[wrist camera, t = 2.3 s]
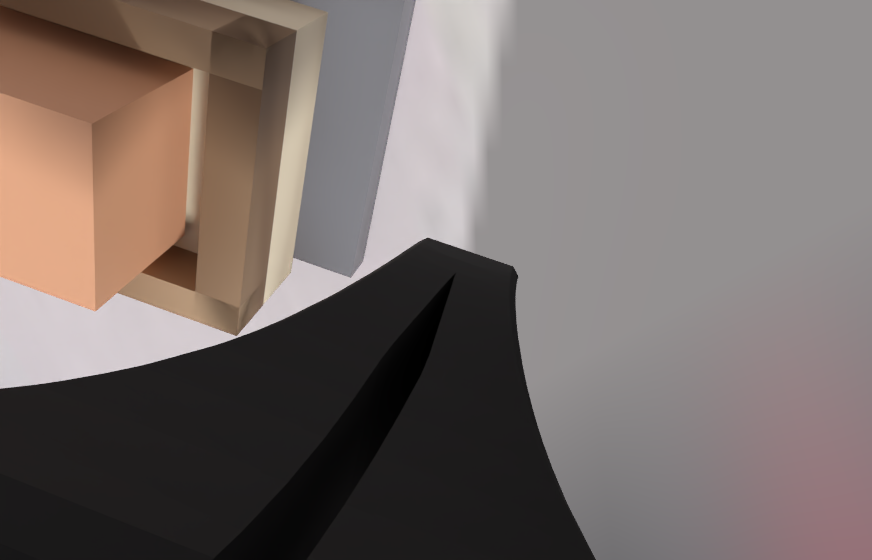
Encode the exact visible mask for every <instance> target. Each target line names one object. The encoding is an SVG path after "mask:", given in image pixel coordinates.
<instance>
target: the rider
mask: <svg viewBox="0 0 872 560" xmlns="http://www.w3.org/2000/svg"><path fill="white" fill-rule="evenodd" d="M193 70H194V69H193V68H190V67H187V66H184V65H181V64H178V63H175V62H171V61H168V60H165V59H162V58H159V57H156V56H153V55H150V54H147V53H144V52H141V51H138V50H135V49H131V48H128V47H125V46H122V45H119V44H116V43H113V42H110V41H107V40H104V39H101V38H98V37H94V36H91V35H88V34H85V33H82V32H79V31H76V30H73V29H70V28H67V27H64V26H61V25H58V24H54V23H51V22H48V21H45V20H42V19H39V18H36V17H33V16H30V15H27V14H24V13H21V12H18V11H14V10H11V9H8V8H5V7H2V6H0V277H3V278H6V279H8V280H11V281H14V282H17V283H19V284H22V285H25V286H27V287H30V288H33V289H36V290H38V291H41V292H44V293H47V294H49V295H52V296H55V297H58V298H60V299H63V300H66V301H69V302H71V303H74V304H77V305H79V306H82V307H85V308H88V309H90V310H93V311H96V310H98V309H99V308H100V307H101V306H102V305H103V304H105V303H106V302H107V301H108V300H109V299H110V298H112V297H113V296H114V295H115V294H116V293H117V292H119V291H120V290H121V289H122V288H123V287H124V286H126V285H127V284H128V283H129V282H130V281H131V280H133V279H134V278H135V277H136V276H137V275H138V274H140V273H141V272H142V271H143V270H144V269H145V268H147V267H148V266H149V265H150V264H151V263H152V262H154V261H155V260H156V259H157V258H158V257H159V256H161V255H162V254H163V253H164V252H165V251H166V250H168V249H169V248H170V247H171V246H172V245H174V244H175V243H176V242H177V241H178V240H179V239H181V238H182V237H183V236H184V235H185V219H186V201H187V182H188V163H189V145H190V126H191V107H192V88H193Z"/></svg>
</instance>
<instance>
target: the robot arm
mask: <svg viewBox="0 0 872 560" xmlns="http://www.w3.org/2000/svg"><path fill="white" fill-rule="evenodd" d="M517 279H518V275H517V273H516V271H515V269H514V267H513V266H510V265H507V264H504V263H501V262H498V261H495V260H492V259H489V258H486V257H483V256H480V255H477V254H474V253H471V252H468V251H466V250H463V249H460V248H457V247H454V246H451V245H448V244H445V243H442V242H439V241H436V240H433V239H430V238H426V239H424V240H422V241H420V242H418V243H416V244H415V245H413V246H412V247H410V248H409V249H407V250H406V251H404V252H403V253H401V254H400V255H398V256H397V257H395V258H394V259H392V260H391V261H389V262H388V263H386V264H385V265H383V266H381V267H380V268H378V269H377V270H375V271H373V272H372V273H370V274H368V275H367V276H365V277H363V278H361V279H360V280H358V281H356V282H355V283H353V284H351V285H349V286H348V287H346V288H344V289H342V290H341V291H339V292H337V293H335V294H334V295H332V296H330V297H328V298H326V299H324V300H322V301H320V302H318V303H316V304H314V305H312V306H310V307H308V308H306V309H304V310H302V311H300V312H298V313H296V314H294V315H291V316H289V317H287V318H285V319H283V320H281V321H278V322H276V323H274V324H271V325H269V326H267V327H265V328H262V329H260V330H257V331H255V332H252V333H249V334H247V335H244V336H241V337H238V338H236V339H233V340H230V341H227V342H224V343H221V344H218V345H215V346H212V347H208V348H204V349H201V350H197V351H194V352H190V353H186V354H183V355H179V356H176V357H172V358H168V359H165V360H161V361H158V362H154V363H151V364H146V365H142V366H138V367H133V368H128V369H123V370H119V371H114V372H109V373H105V374H99V375H93V376H88V377H82V378H76V379H71V380H65V381H59V382H52V383H45V384H39V385H30V386H22V387H13V388H4V389H0V560H596V559H595V557H594V555H593V553H592V551H591V550H590V548H589V546H588V544H587V542H586V540H585V538H584V536H583V534H582V532H581V530H580V528H579V526H578V524H577V522H576V520H575V518H574V516H573V515H572V512H571V510H570V508H569V506H568V504H567V502H566V500H565V497H564V495H563V493H562V490H561V488H560V486H559V483H558V481H557V478H556V476H555V474H554V471H553V469H552V466H551V463H550V461H549V458H548V455H547V453H546V450H545V447H544V444H543V442H542V438H541V435H540V432H539V429H538V426H537V422H536V419H535V416H534V412H533V409H532V405H531V401H530V397H529V393H528V389H527V385H526V380H525V375H524V370H523V365H522V359H521V353H520V347H519V340H518V333H517V324H516V308H515V293H516V284H517Z"/></svg>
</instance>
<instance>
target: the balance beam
mask: <svg viewBox="0 0 872 560" xmlns="http://www.w3.org/2000/svg"><path fill="white" fill-rule="evenodd" d="M414 5H415V0H0V6H2V7H5V8H8V9H11V10H14V11H18V12H21V13H24V14H27V15H30V16H33V17H36V18H39V19H42V20H45V21H48V22H51V23H54V24H58V25H61V26H64V27H67V28H70V29H73V30H76V31H79V32H82V33H85V34H88V35H91V36H94V37H98V38H101V39H104V40H107V41H110V42H113V43H116V44H119V45H122V46H125V47H128V48H131V49H135V50H138V51H141V52H144V53H147V54H150V55H153V56H156V57H159V58H162V59H165V60H168V61H171V62H175V63H178V64H181V65H184V66H187V67H190V68H193V69H194V70H193V88H192V107H191V126H190V145H189V163H188V182H187V201H186V219H185V235H184V236H183V237H182V238H181V239H179V240H178V241H177V242H176V243H175V244H174V245H172V246H171V247H170V248H169V249H168V250H166V251H165V252H164V253H163V254H162V255H161V256H159V257H158V258H157V259H156V260H155V261H154V262H152V263H151V264H150V265H149V266H148V267H147V268H145V269H144V270H143V271H142V272H141V273H140V274H138V275H137V276H136V277H135V278H134V279H133V280H131V281H130V282H129V283H128V284H127V285H126V286H124V287H123V288H122V289H121V290H120V291H119V292H117V293H119V294H122V295H125V296H128V297H130V298H133V299H136V300H139V301H141V302H144V303H147V304H150V305H153V306H155V307H158V308H161V309H164V310H166V311H169V312H172V313H175V314H177V315H180V316H183V317H186V318H188V319H191V320H194V321H197V322H199V323H202V324H205V325H208V326H211V327H213V328H216V329H219V330H222V331H224V332H227V333H230V334H233V335H235V336H237V335H238V334H239V333H240V331H241V330H242V329H243V328H244V327H245V326H246V324H247V323H248V322H249V321H250V320H251V319H252V317H253V316H254V315H255V314H256V313H257V312H258V310H259V309H260V308H261V307H262V306H263V304H264V303H265V302H266V301H267V300H268V299H269V297H270V296H271V295H272V294H273V293H274V292H275V290H276V289H277V288H278V287H279V286H280V285H281V283H282V282H283V281H284V280H285V279H286V277H287V276H288V275H289V274H290V273H291V268H292V261H293V258H296V259H299V260H301V261H304V262H307V263H310V264H313V265H316V266H319V267H322V268H325V269H327V270H330V271H333V272H336V273H339V274H342V275H345V276H348V277H350V278H351V277H352V276H353V274H354V273H355V271H356V270H357V269H358V267H359V266H360V264H361V263H362V262H363V258H364V253H365V248H366V243H367V238H368V233H369V228H370V224H371V219H372V214H373V209H374V204H375V199H376V194H377V189H378V184H379V179H380V174H381V169H382V164H383V159H384V154H385V149H386V144H387V139H388V134H389V129H390V124H391V119H392V114H393V109H394V104H395V99H396V94H397V89H398V84H399V79H400V74H401V69H402V65H403V60H404V55H405V50H406V45H407V40H408V35H409V30H410V25H411V20H412V15H413V10H414Z"/></svg>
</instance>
